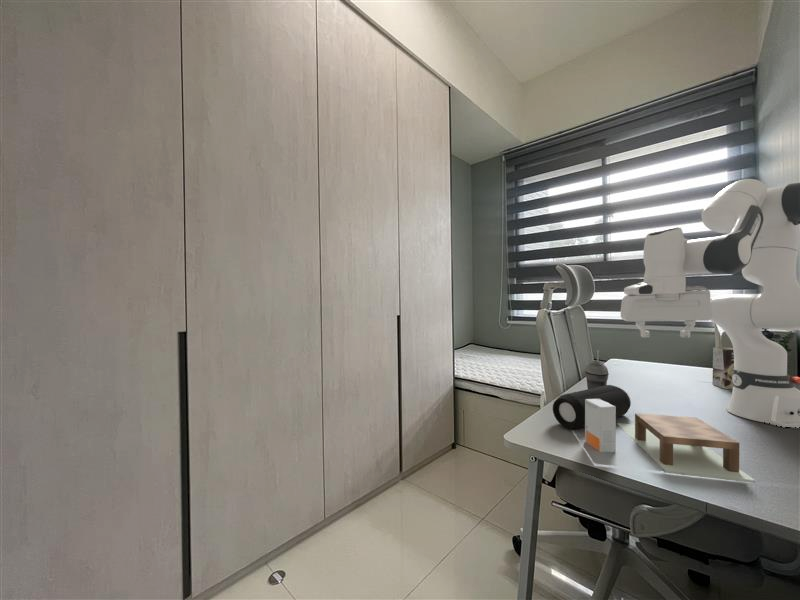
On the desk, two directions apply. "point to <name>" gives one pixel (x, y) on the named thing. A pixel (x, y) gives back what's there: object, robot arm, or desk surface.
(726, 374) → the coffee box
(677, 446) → the mat
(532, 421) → the desk surface
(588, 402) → the skincare box
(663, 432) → the stool
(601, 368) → the beverage cup
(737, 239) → the robot arm
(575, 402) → the portable speaker
